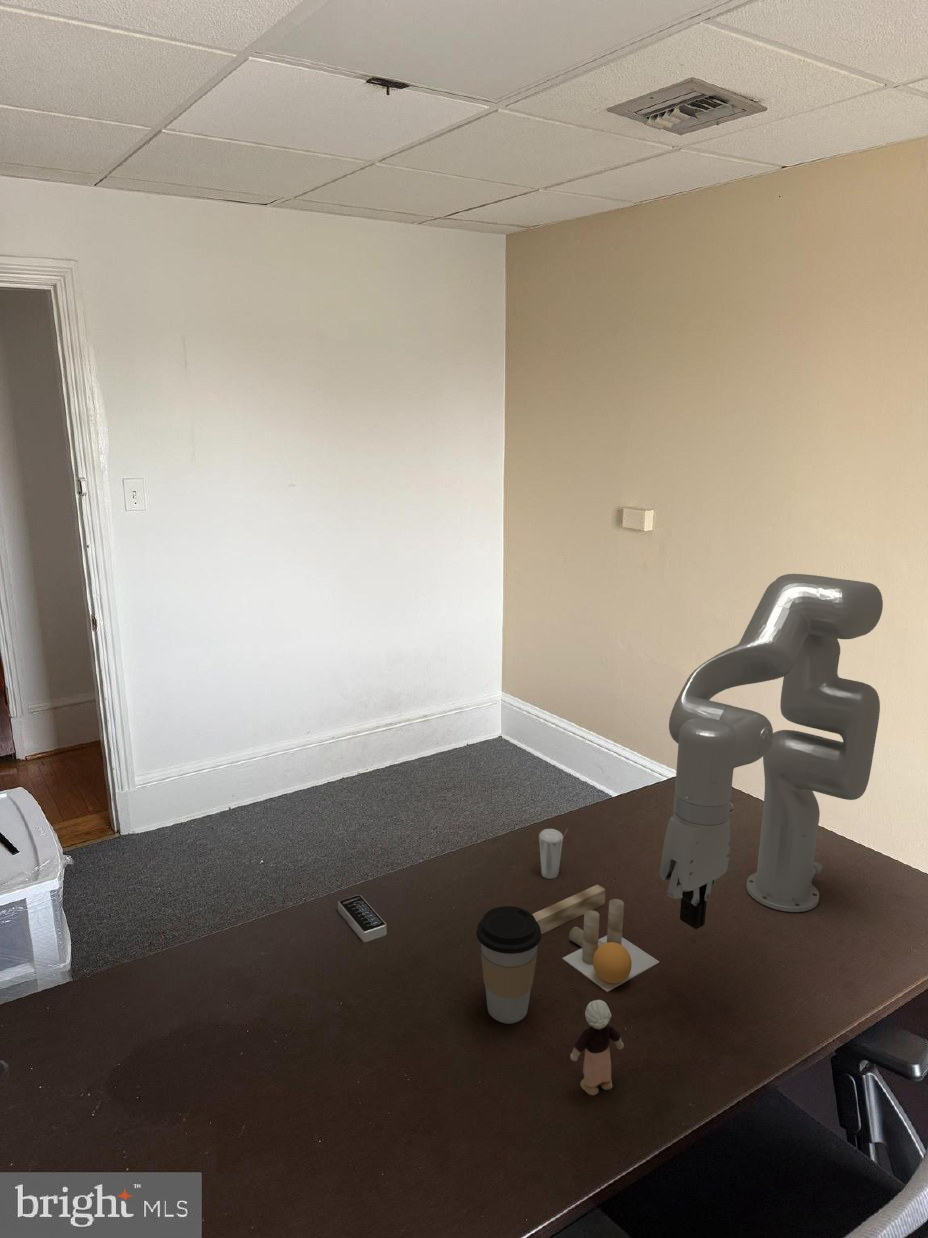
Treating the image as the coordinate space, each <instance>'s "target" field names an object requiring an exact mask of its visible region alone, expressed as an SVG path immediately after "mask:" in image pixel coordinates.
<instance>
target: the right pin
mask: <svg viewBox="0 0 928 1238" xmlns="http://www.w3.org/2000/svg"><path fill="white" fill-rule="evenodd" d="M624 907H625V902H624V901H623V900H622V899H618V898H612V899H609V901H608V912H607V913H608V914H607V915H608V916H607V930H606V931H607V933H606V936H607V943H608V942H614V943H618V944H620V945H621V943H622V937H623V925H624V912H625V911H624V910H625V908H624Z"/></svg>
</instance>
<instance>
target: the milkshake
mask: <svg viewBox="0 0 928 1238" xmlns="http://www.w3.org/2000/svg"><path fill="white" fill-rule="evenodd" d="M567 831H568V828H566V831H564V833H562V832H561V831H560V830H557V829H555V828H545V829H542V830H541V832H540V833H539V834H538V841H539V857H540V858H539V859H540V872H541V873H540V874H541V876H542V877H543V878H544V879H550V880H552V879H557V877H559V872H560V863H561V857H562V856H561V855H562V849H563V841H564V837H565V835H566V834H567ZM563 834H564V835H563Z"/></svg>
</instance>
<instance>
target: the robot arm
mask: <svg viewBox="0 0 928 1238" xmlns="http://www.w3.org/2000/svg"><path fill="white" fill-rule="evenodd" d="M883 603H884V599H883V596H882V592H881V590H880V589H879V587H878V586H877V585H876V584H874V583H871V582H866V581H859V580H852V579H851V580H850V579H843V578H836V577H830V576H821V575H814V574H805V573H804V574H803V573H787V574H783V575H781V576H778V577H777V578H776V579H775V580H774V581H773V582H771V583H770V584H769V585H768V586H767V587H766V589H765V591H764V593H763V594H762V596H761V598H760V600H759V603H758V605H757V606H756V609H755V610H754V613H753V615H752V617H751V619H750V621H749V623H748V625H747V627H746V629H745V631H744V633H743V635H742V636H741V639H740V640H739V643H737V644H736V645H734V646H732V647H729V648H727V649H725V650H724V651H721V652H720V653H718V654H715V655H714V656H713V657H711V658H709V659H708V660H705V662H703V663H702V664H700V665H699V666H698V667H697V668H696V669H694V670H693V672H691V673H690V675H689V676H688V678H687V679H686V681H685V683H684V685H683V687H682V688H681V691H680V692H679V694H678V696H677V698H676V700H675V702H674V703H673V704H674V705H673V707H672V710H671V712H670V716H669V721H668V731H669V735H670V737H671V738H672V739H673V741H674V742H675V743H676V744H677V759H676V760H677V761H676V773H675V785H674V799H673V815H671V816H670V818H669V820H668V824H667V826H666V827H667V828H666V831H665V836H664V842H663V846H662V853H661V859H660V870H659V871H660V872H659V875H660V879H661V880H662V881H668V880H670V881H669V884H668V888H667V893H666V894H667V896H669V897H670V898H672V899H674V900H680V909H679V911H680V913H679V920H680V921H682V922H683V923H685V924H686V925H688V926H690V927H691V928H692V929H695V930H698V929H700V928H702V927H703V926H705V924H706V915H707V914H706V913H707V901H708V900H709V899H710V896H711V892H712V886H713V884H714V882H716V881H717V880H718V879H719V878H720V877H722V876H723V875H725V873H727V871H728V868H729V863H730V853H731V823H730V822H731V820H730V813H731V801H732V799H731V798H732V789H733V788H732V787H733V779H734V777H733V776H734V770H735V768H739V767H742V766H743V767H744V766H746V765H747V766H748V765H750V764H753V763H755V762H757V761H759V760H761V758H762V764H763V773H764V774H763V775H764V793H763V795H764V796H763V797H764V798H763V807H762V814H761V815H762V817H761V826H760V827H761V828H760V837H759V849H758V857H757V867H756V872H754V873H752V874H751V875H749V876H748V877H747V880H746V885H745V886H746V890H747V891H746V892H748V894H749V895H750V896H751V897H752V898H753V899H754V900H755V901H756V902H758V903H759V904H761V905H763V906H766V907H768V908H771V909H774V910H777V911H781V912H789V913H800V912H801V913H803V912H807V911H810V910H812V909H814V908H815V907H817V905H818V904H819V900H820V893H819V890H818V889H817V887H816V886H815V885H814V884H813V883H812V882H813V879H814V877H815V875H818V874H819V873H821V872H822V871H823V865H822V864H821V863H820V862H819V861H815V858H816V857H815V856H816V847H817V841H818V832H819V823H820V818H821V817H820V815H821V812H820V806H819V802H818V800H817V797H816V795H815V793H814V792H816V793H820V794H823V795H827V796H830V797H833V798H837V799H842V800H845V801H846V800H848V801H854V800H858V799H859V798H861V797H862V796H864V794H865V792H866V790H867V787H868V785H869V781H870V775H871V772H872V771H871V770H872V764H873V759H874V752H875V746H876V739H877V734H878V728H879V722H880V721H879V720H880V713H881V701H880V696H879V694H878V692H877V690H876V689H875V688H874V687H873V686H871V685H870V684H868V683H865V682H862V681H858V680H852V679H847V678H842V677H839V673H838V670H839V663H840V657H841V646H840V642H839V640H853V639H857V638H859V637H863V636H865V635H868V634H869V633H870V632H872V631H873V630H874V629H875V627H876V626H877V625H878V623H879V621H880V619H881V616H882V613H883V607H884V604H883ZM780 678H781V679H783V680H782V684H781V685H782V686H781V691H780V692H781V693H780V707H779V708H780V712H781V715H782V716H783V718H784V719H785V720H786V721H789V722H791V723H793V724H796V725H799V726H803V727H807V728H811V729H814V730H815V729H816V730H820V731H823V732H828V733H832V734H836V735H839V736H840V737H841V739H842V741H840V740H836V739H831V738H827V737H824V736H821V735H816V734H812V733H808V732H803V731H799V730H794V729H793V730H791V729H780V730H777V731H773V730H774V728H773V725H772V724H771V721H770V720H769V719H768V718H767V717H766V716H765V715H764V714H762V713H760V712H757V711H754V710H751V709H747V708H743V707H738V706H734V705H731V704H727V703H721V702H719V701H714V700H711V699H712V698H713V697H715V696H716V695H718V694H719V693H722V692H723V691H726V690H729V689H731V688H734V687H741V686H747V685H752V684H753V685H754V684H759V683H763V682H769V681H774V680H778V679H780Z"/></svg>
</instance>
